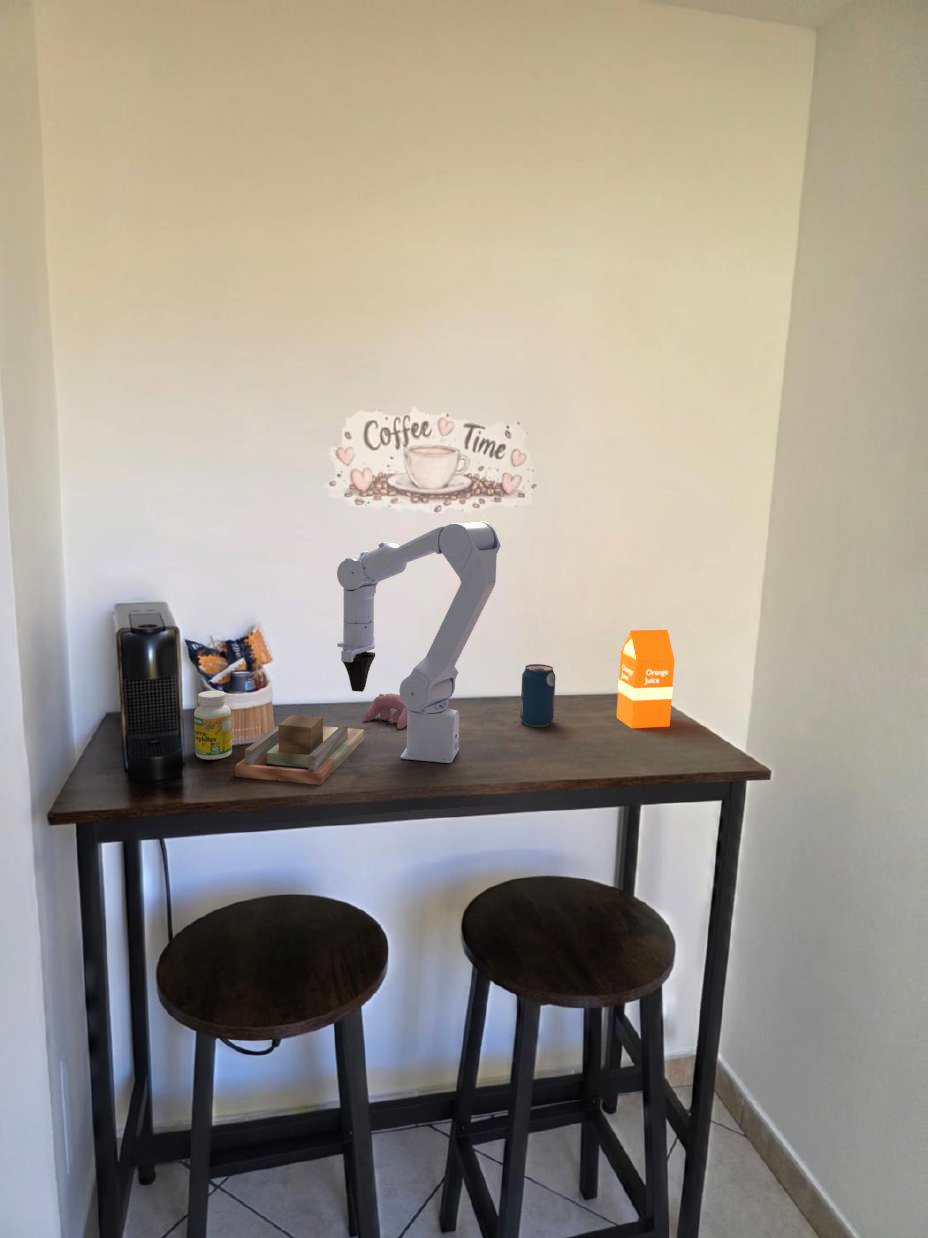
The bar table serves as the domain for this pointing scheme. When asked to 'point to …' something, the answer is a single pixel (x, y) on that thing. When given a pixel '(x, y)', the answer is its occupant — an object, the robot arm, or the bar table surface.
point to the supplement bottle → (212, 726)
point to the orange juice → (646, 679)
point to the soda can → (537, 695)
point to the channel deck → (299, 757)
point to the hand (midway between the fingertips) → (358, 690)
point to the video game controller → (388, 709)
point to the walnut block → (300, 734)
